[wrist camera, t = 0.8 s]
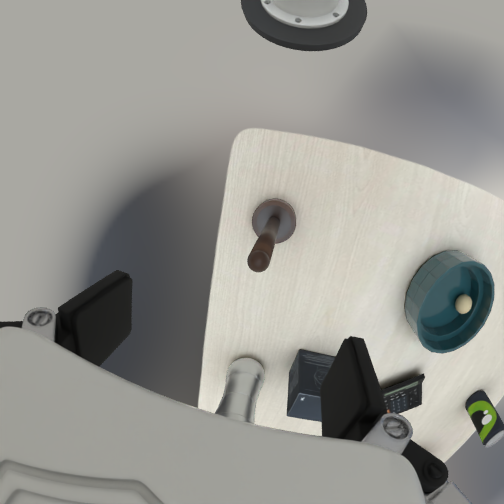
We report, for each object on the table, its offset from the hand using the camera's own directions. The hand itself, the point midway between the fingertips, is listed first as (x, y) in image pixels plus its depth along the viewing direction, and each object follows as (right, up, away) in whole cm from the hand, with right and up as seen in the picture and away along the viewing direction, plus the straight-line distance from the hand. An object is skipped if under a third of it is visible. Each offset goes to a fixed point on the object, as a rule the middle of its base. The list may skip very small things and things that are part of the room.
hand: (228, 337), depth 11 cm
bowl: (+32, -3, +25) cm, 41 cm away
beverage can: (+55, -32, +31) cm, 71 cm away
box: (+12, -16, +32) cm, 38 cm away
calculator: (+30, -25, +32) cm, 50 cm away
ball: (+35, -5, +23) cm, 43 cm away
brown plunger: (+4, +8, +26) cm, 28 cm away
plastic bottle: (0, -17, +34) cm, 38 cm away
